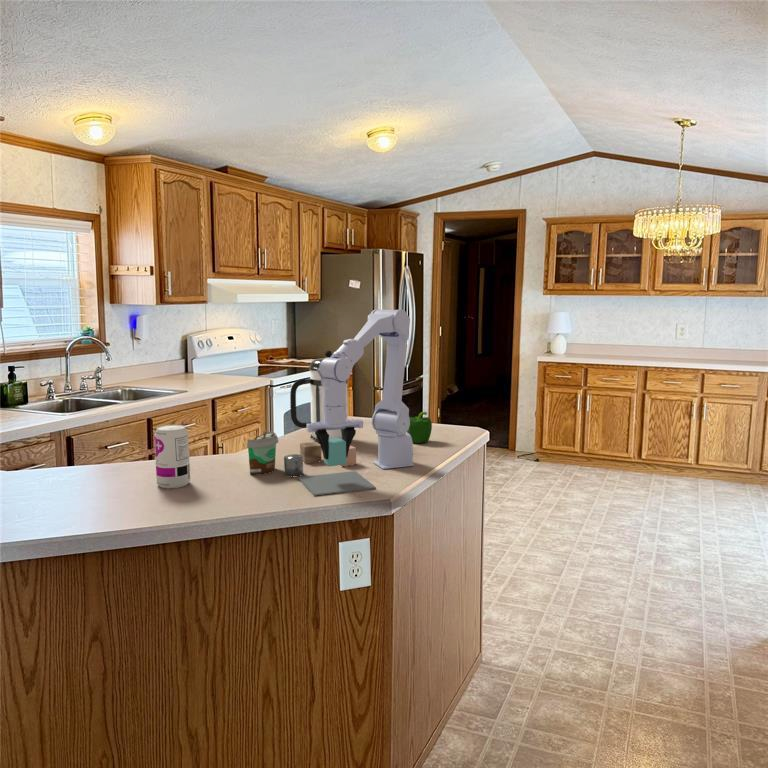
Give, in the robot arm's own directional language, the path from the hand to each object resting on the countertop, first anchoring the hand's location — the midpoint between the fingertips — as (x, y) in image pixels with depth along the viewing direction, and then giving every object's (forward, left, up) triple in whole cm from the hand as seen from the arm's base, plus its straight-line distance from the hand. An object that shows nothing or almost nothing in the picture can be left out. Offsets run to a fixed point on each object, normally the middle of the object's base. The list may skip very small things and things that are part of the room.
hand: (335, 457), depth 171 cm
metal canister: (+8, -13, -7) cm, 16 cm away
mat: (0, 0, -7) cm, 7 cm away
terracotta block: (-8, -18, -7) cm, 21 cm away
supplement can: (+39, -15, -7) cm, 42 cm away
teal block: (0, 0, -2) cm, 2 cm away
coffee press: (-11, -47, -7) cm, 49 cm away
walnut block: (0, -25, -7) cm, 26 cm away
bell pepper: (-39, -35, -7) cm, 53 cm away
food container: (+14, -19, -7) cm, 25 cm away
